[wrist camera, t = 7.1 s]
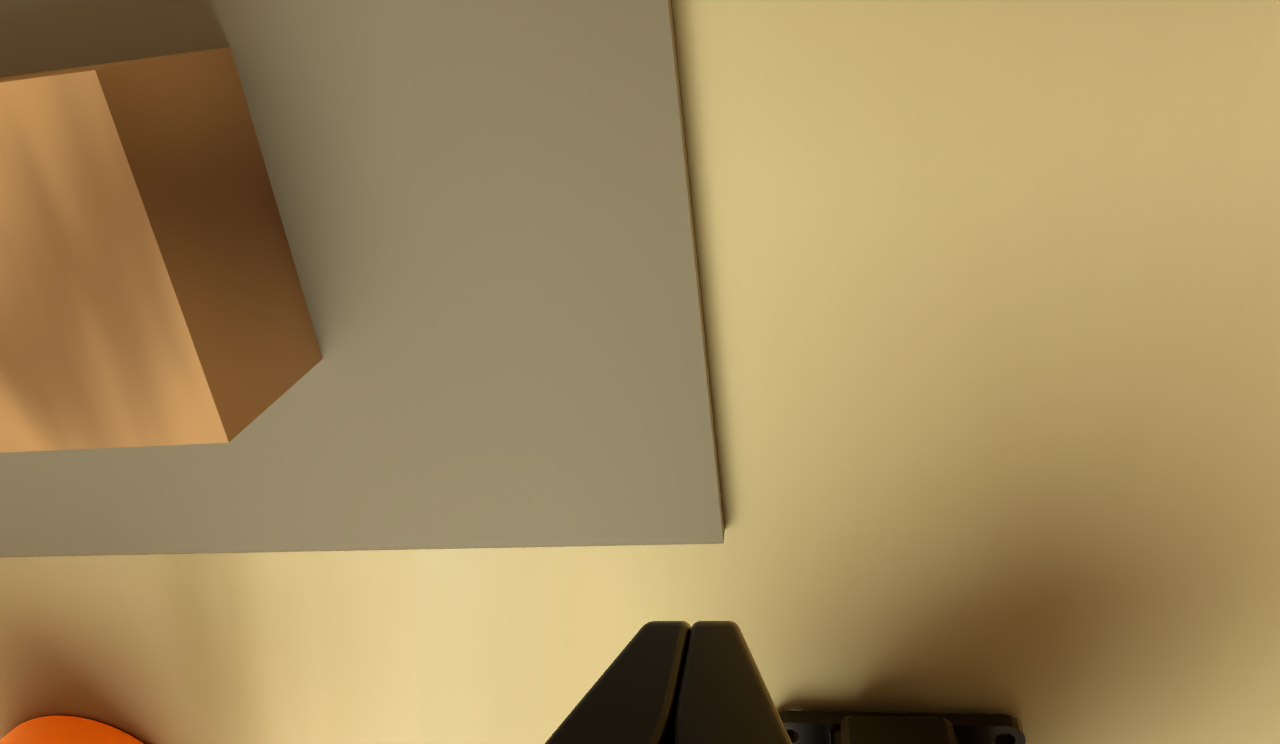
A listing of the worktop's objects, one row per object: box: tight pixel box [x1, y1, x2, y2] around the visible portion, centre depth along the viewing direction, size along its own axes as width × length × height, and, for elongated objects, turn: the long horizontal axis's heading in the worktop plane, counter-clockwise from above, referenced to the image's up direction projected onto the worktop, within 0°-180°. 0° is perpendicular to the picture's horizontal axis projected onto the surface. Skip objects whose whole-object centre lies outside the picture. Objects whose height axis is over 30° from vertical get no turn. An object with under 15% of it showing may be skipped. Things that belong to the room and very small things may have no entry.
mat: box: [0, 0, 725, 557], centre depth 20 cm, size 18×22×1 cm
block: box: [0, 47, 323, 453], centre depth 19 cm, size 7×4×9 cm
